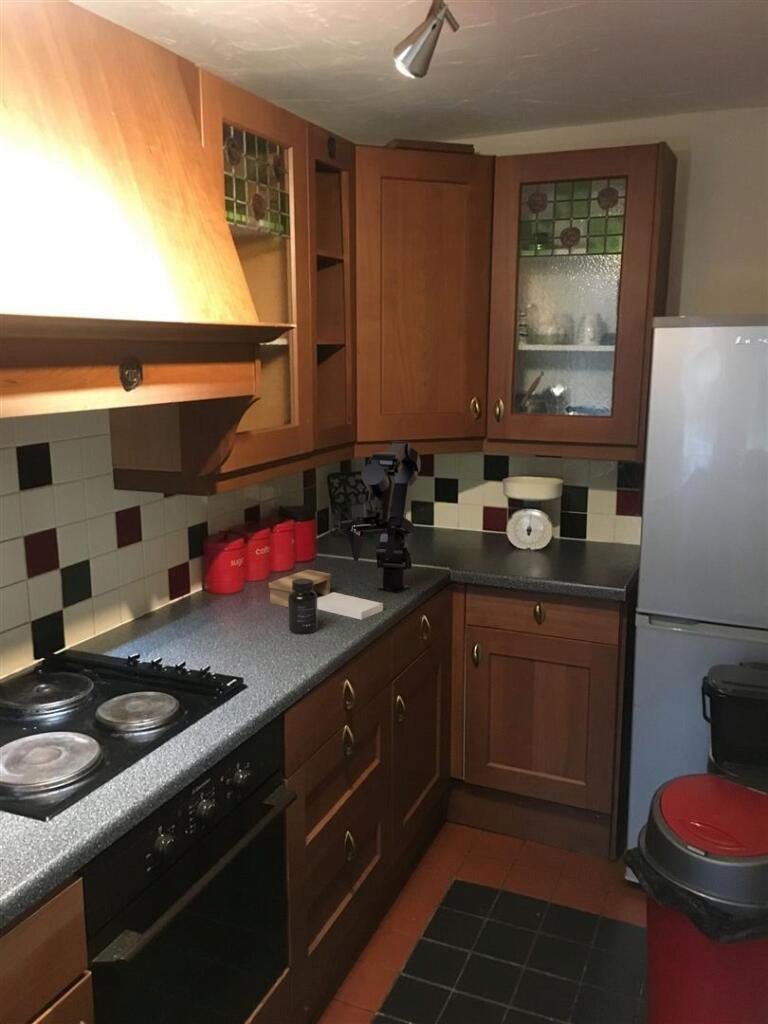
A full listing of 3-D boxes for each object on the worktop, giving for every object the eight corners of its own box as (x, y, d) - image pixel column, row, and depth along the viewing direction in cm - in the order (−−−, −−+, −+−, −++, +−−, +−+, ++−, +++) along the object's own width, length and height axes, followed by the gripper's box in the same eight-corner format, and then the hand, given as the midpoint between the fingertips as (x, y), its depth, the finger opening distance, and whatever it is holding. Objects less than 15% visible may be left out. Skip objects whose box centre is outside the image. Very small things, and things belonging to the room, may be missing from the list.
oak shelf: (307, 589, 236) (307, 569, 235) (331, 594, 232) (331, 574, 230) (269, 603, 223) (268, 582, 222) (293, 609, 218) (292, 587, 217)
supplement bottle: (285, 627, 205) (284, 578, 203) (313, 624, 207) (312, 575, 205) (292, 636, 199) (292, 586, 196) (321, 633, 201) (320, 583, 199)
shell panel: (333, 601, 227) (333, 592, 227) (382, 612, 218) (383, 603, 218) (311, 609, 220) (311, 600, 220) (361, 621, 211) (361, 612, 211)
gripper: (330, 491, 214) (321, 551, 209) (394, 485, 204) (385, 547, 198) (355, 507, 222) (347, 565, 217) (418, 501, 212) (410, 562, 207)
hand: (371, 560), depth 210 cm, fingers open, 9 cm apart
